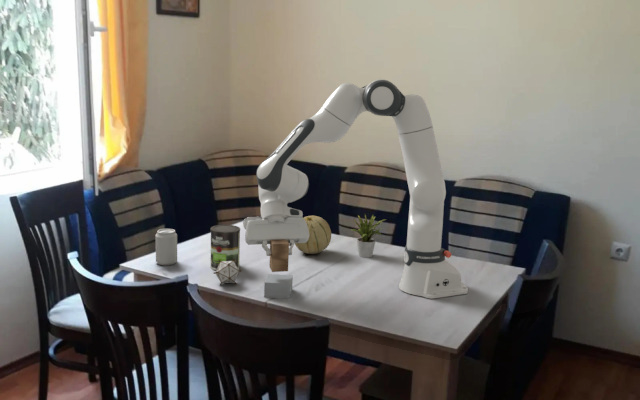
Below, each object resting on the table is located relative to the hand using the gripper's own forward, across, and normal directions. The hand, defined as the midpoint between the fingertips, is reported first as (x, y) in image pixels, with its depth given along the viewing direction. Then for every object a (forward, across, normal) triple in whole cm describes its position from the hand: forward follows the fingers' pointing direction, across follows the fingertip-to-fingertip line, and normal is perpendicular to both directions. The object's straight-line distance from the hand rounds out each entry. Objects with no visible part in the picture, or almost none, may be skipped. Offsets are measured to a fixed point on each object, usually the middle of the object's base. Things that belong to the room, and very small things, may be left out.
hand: (279, 254), depth 199 cm
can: (-16, -34, +34) cm, 51 cm away
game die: (+1, -15, +18) cm, 23 cm away
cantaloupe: (-19, +20, +38) cm, 47 cm away
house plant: (-14, +40, +33) cm, 54 cm away
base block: (+9, 0, +10) cm, 13 cm away
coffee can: (-11, -14, +30) cm, 34 cm away
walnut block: (+3, 0, +4) cm, 5 cm away
